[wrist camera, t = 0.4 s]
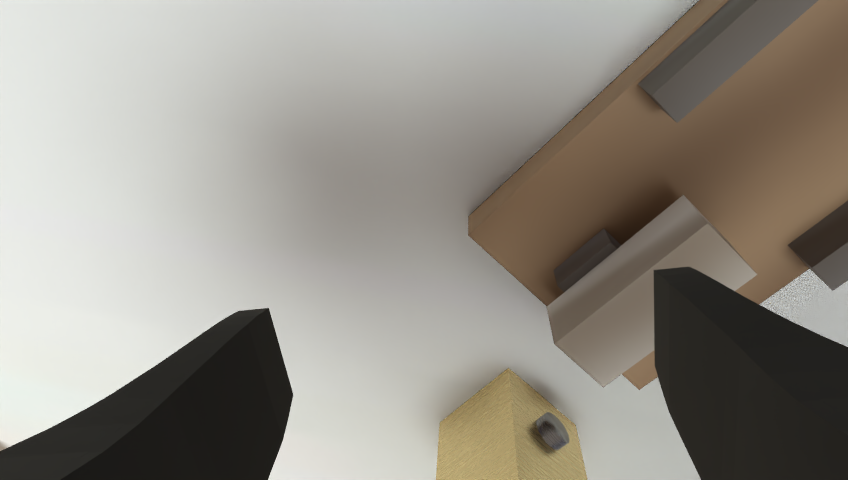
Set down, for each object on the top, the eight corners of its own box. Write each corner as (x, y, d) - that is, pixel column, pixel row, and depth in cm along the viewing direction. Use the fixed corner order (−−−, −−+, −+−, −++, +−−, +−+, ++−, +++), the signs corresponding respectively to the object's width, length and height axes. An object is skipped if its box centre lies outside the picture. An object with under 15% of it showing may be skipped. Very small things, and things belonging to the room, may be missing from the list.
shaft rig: (1178, -41, 17) (1405, -37, 13) (629, 363, 23) (663, 454, 19) (1020, -300, 15) (1228, -394, 11) (468, 216, 21) (467, 281, 17)
